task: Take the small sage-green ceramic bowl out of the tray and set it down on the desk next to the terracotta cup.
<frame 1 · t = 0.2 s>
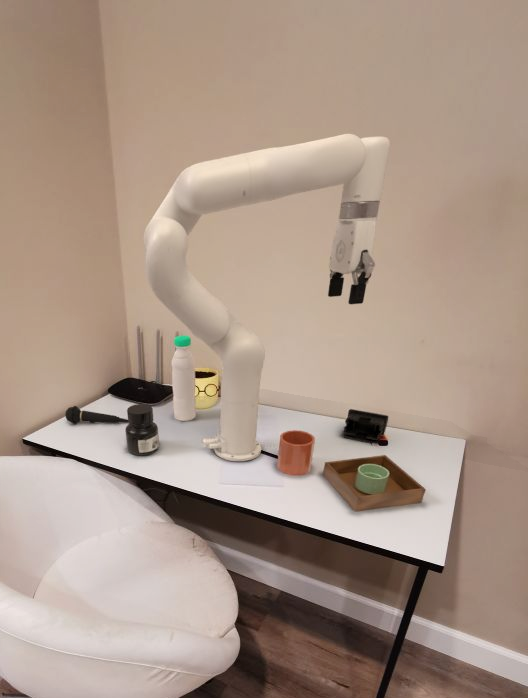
hand: (344, 299, 99), 37 cm above the table, tool pointing down, fingers open, 9 cm apart
ink bottle: (143, 449, 120), on the table
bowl: (369, 487, 98), resting on tray
black angular box: (362, 436, 120), on the table
tray: (369, 488, 99), on the table
water bottle: (184, 417, 137), on the table
microphone: (96, 424, 136), on the table
cup: (293, 468, 108), on the table
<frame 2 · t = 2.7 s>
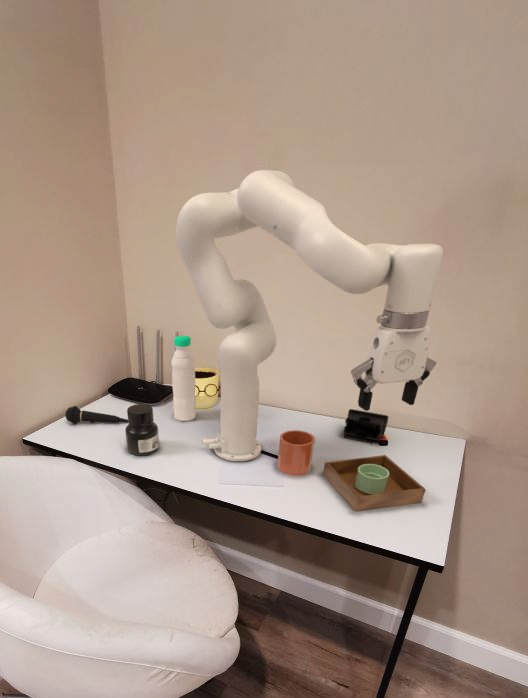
hand: (385, 405, 89), 20 cm above the table, tool pointing down, fingers open, 9 cm apart
nothing on the table moved.
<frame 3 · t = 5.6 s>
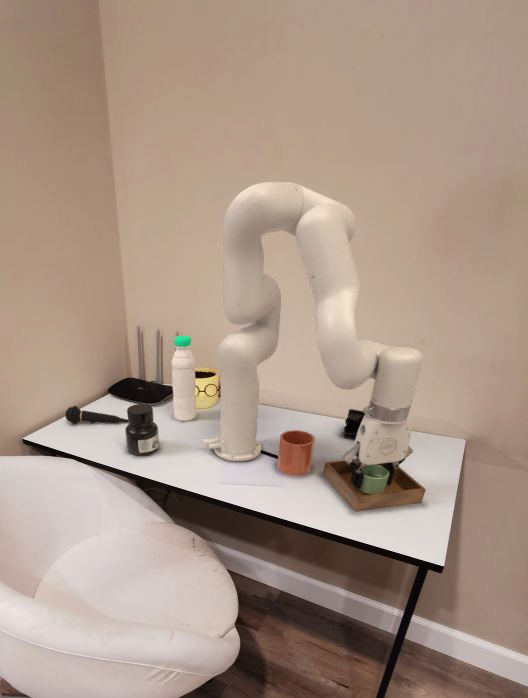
hand: (370, 482, 98), 2 cm above the table, tool pointing down, fingers closed on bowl, 6 cm apart
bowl: (369, 487, 98), resting on tray, touching gripper
everything else where it was.
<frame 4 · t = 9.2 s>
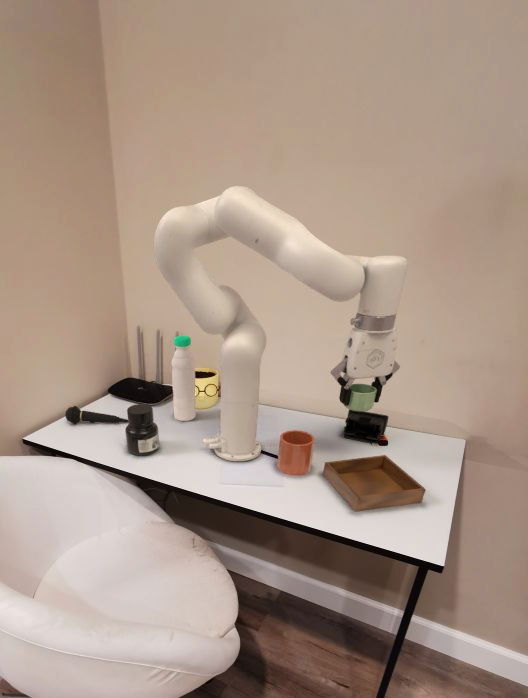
hand: (358, 401, 100), 16 cm above the table, tool pointing down, fingers closed on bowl, 6 cm apart
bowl: (357, 406, 101), point 15 cm above the table, touching gripper
everything else where it was.
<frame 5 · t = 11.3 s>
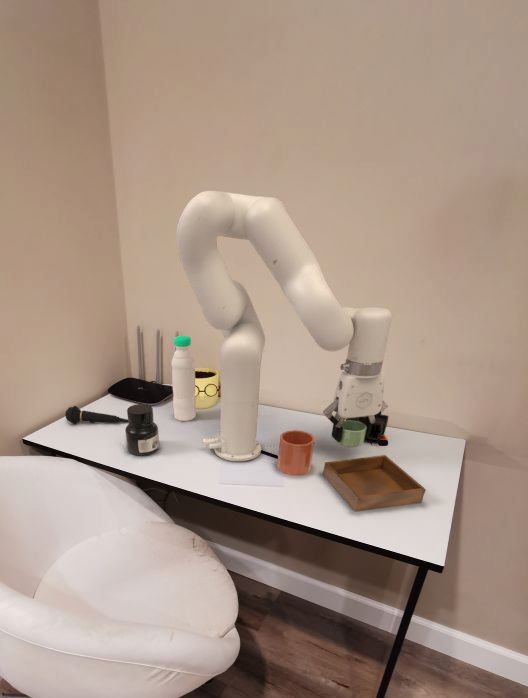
hand: (350, 437, 106), 6 cm above the table, tool pointing down, fingers closed on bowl, 6 cm apart
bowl: (349, 442, 107), point 5 cm above the table, touching gripper
everything else where it was.
when the fingers open (1 cm above the table, at t = 13.0 s): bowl stays where it is, on the table.
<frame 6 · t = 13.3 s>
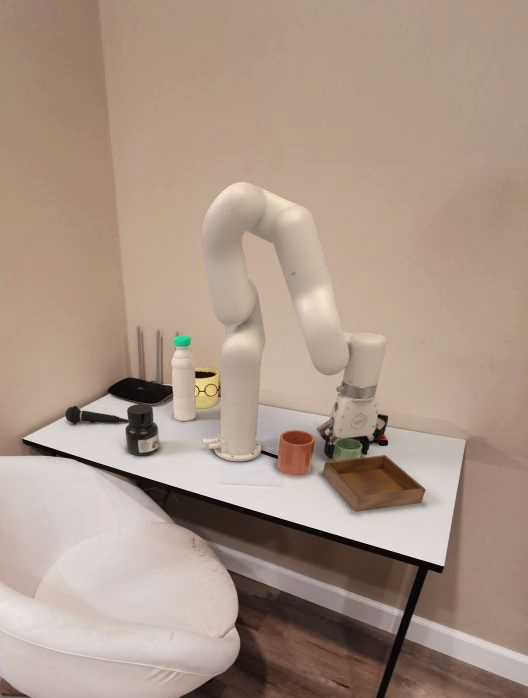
hand: (345, 454, 109), 2 cm above the table, tool pointing down, fingers open, 8 cm apart
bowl: (345, 459, 110), on the table
everything else where it was.
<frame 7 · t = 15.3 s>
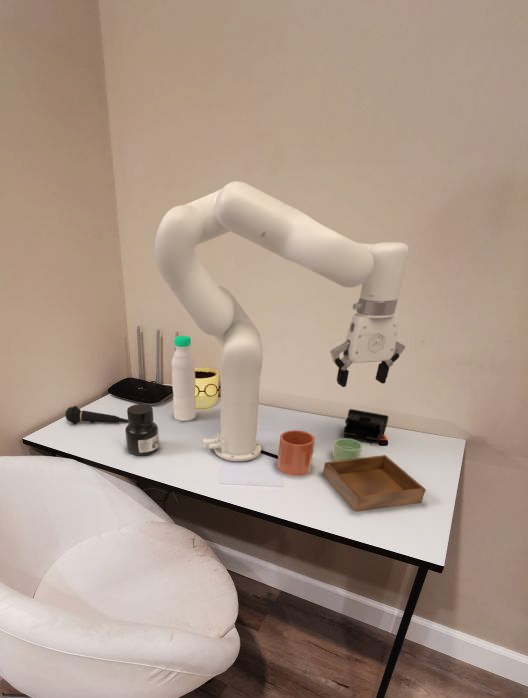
hand: (360, 383, 103), 19 cm above the table, tool pointing down, fingers open, 9 cm apart
nothing on the table moved.
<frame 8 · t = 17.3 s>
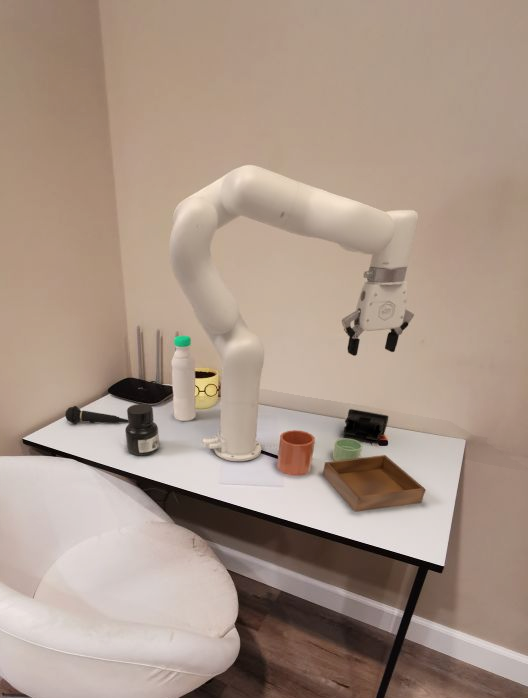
hand: (370, 352, 105), 24 cm above the table, tool pointing down, fingers open, 9 cm apart
nothing on the table moved.
at the end: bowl inside the target area (0.2 cm from its centre), on the table; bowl 14.2 cm from the cup (horizontally); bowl tilted 0° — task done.
